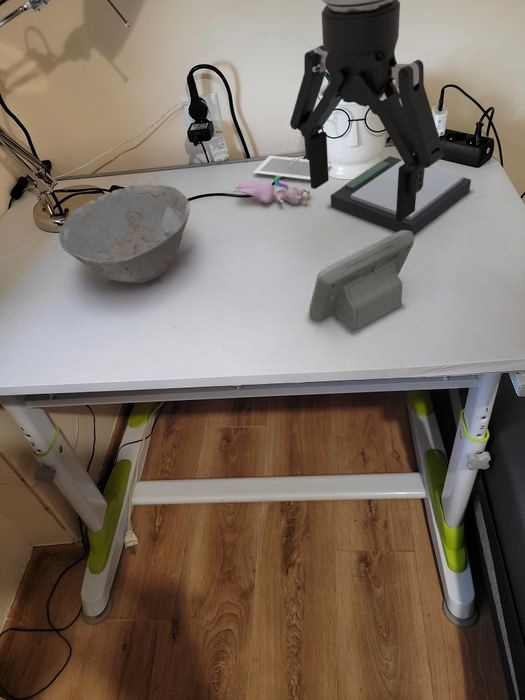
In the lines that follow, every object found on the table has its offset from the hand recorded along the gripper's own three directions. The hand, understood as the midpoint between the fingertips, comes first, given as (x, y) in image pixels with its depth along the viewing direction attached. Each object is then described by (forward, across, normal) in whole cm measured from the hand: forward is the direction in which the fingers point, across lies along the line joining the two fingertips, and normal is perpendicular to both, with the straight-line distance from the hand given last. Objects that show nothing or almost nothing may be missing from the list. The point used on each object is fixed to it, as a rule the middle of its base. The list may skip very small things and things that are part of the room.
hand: (359, 199), depth 64 cm
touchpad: (+18, -38, +24) cm, 49 cm away
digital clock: (+18, 0, 0) cm, 18 cm away
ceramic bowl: (+18, -37, -16) cm, 44 cm away
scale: (+18, -13, +27) cm, 35 cm away
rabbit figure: (+18, -33, +13) cm, 40 cm away
